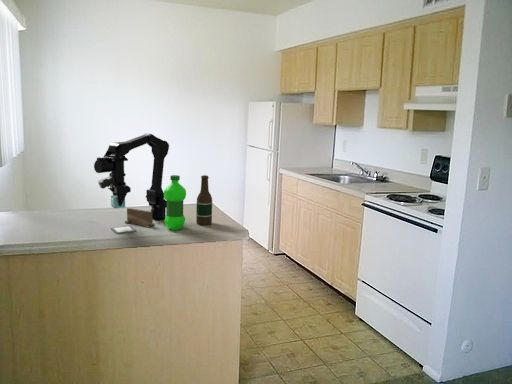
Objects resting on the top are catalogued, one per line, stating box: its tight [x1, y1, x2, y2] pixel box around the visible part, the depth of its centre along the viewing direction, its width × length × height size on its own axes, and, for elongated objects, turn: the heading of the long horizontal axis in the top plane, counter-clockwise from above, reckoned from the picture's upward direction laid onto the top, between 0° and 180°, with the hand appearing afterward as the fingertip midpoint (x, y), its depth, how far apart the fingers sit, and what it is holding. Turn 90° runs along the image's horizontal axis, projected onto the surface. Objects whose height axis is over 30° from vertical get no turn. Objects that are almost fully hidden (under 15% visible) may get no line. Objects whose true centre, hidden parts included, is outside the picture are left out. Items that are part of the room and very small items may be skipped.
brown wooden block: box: [124, 207, 156, 229], centre depth 213 cm, size 5×14×7 cm, turn 64°
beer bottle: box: [195, 174, 213, 227], centre depth 217 cm, size 8×8×24 cm
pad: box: [110, 225, 137, 235], centre depth 203 cm, size 9×9×1 cm
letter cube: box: [110, 194, 126, 209], centre depth 204 cm, size 5×5×5 cm
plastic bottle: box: [163, 174, 187, 231], centre depth 207 cm, size 10×10×25 cm
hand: (118, 204), depth 204 cm, fingers closed on letter cube, 5 cm apart
